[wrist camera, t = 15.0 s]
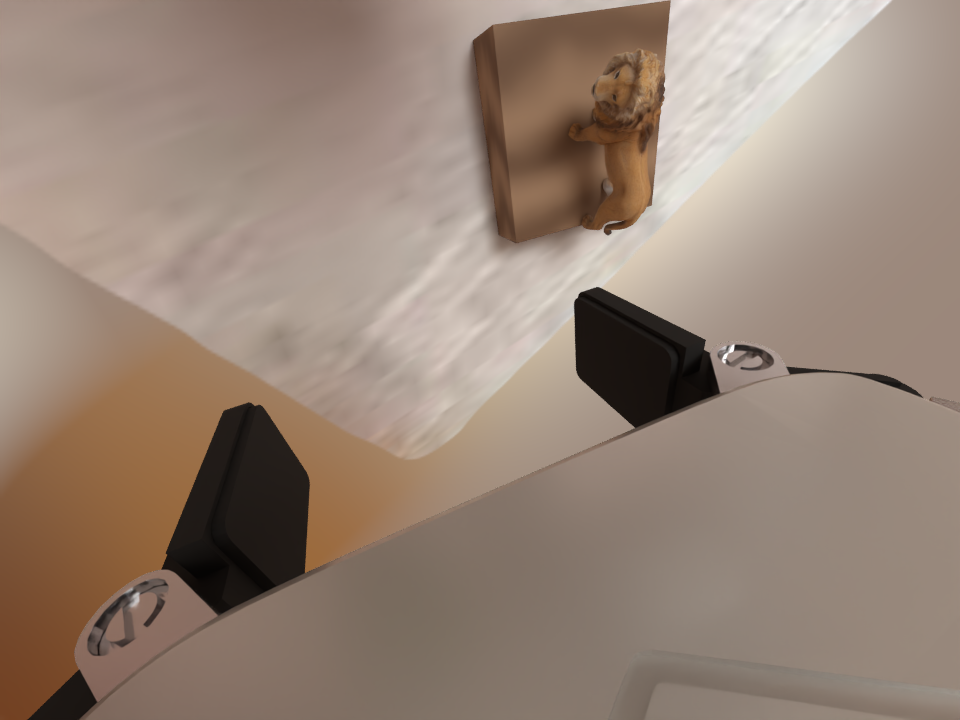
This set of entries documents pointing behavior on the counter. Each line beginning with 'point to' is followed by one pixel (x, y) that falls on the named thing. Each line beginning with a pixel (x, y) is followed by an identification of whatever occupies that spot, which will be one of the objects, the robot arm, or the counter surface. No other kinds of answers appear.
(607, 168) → the lion figurine
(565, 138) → the walnut block
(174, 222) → the counter surface
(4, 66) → the counter surface
